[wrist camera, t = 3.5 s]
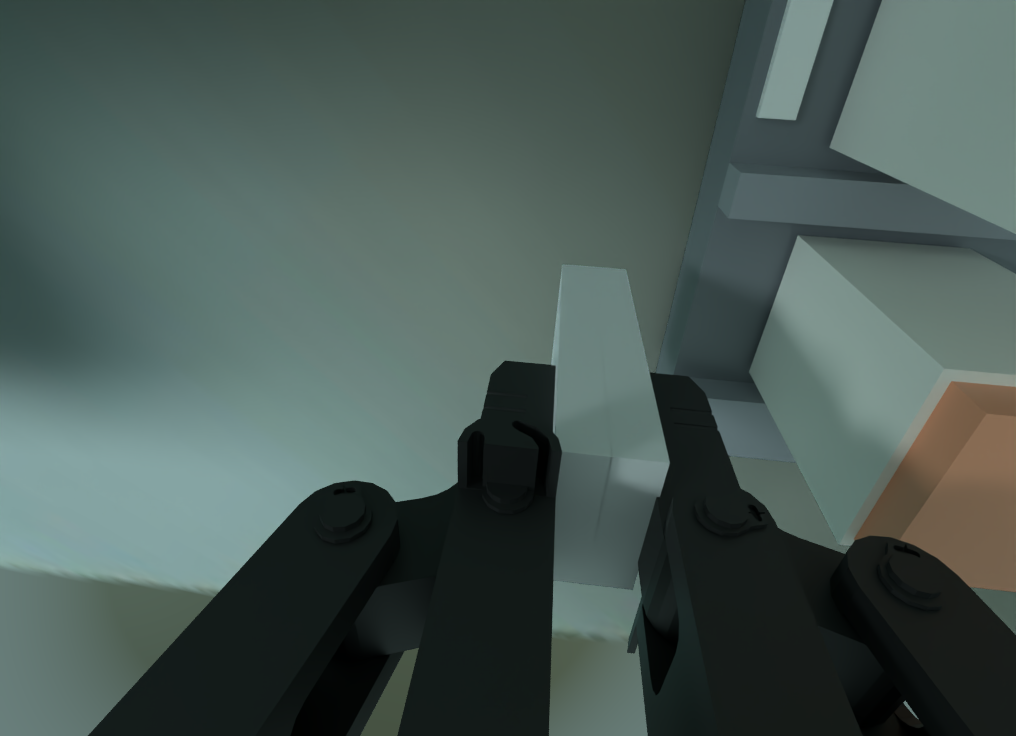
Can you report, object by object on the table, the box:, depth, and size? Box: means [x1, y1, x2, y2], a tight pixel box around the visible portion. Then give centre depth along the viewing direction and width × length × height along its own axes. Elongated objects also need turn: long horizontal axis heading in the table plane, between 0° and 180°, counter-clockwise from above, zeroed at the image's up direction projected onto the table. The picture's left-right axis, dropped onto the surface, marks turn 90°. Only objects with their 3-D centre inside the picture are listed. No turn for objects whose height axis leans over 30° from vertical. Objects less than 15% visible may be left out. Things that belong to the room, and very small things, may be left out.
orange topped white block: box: [749, 235, 1016, 592], centre depth 11 cm, size 4×4×7 cm
